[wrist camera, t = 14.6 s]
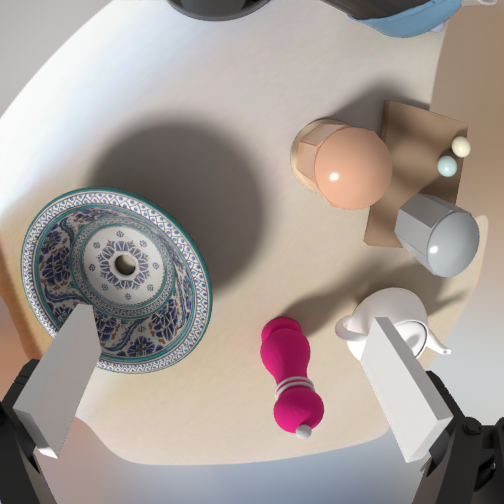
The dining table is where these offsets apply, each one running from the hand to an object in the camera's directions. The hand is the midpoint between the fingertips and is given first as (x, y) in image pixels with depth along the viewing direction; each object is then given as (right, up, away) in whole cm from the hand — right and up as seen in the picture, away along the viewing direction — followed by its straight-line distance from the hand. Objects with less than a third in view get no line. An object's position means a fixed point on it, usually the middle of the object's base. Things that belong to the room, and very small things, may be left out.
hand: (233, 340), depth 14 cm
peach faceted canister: (+11, +16, +25) cm, 31 cm away
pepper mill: (+5, -9, +35) cm, 37 cm away
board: (+24, +14, +27) cm, 39 cm away
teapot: (+23, -7, +36) cm, 43 cm away
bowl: (-17, +3, +29) cm, 34 cm away
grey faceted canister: (+25, +8, +28) cm, 38 cm away
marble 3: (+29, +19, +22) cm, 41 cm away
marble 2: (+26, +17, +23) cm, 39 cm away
